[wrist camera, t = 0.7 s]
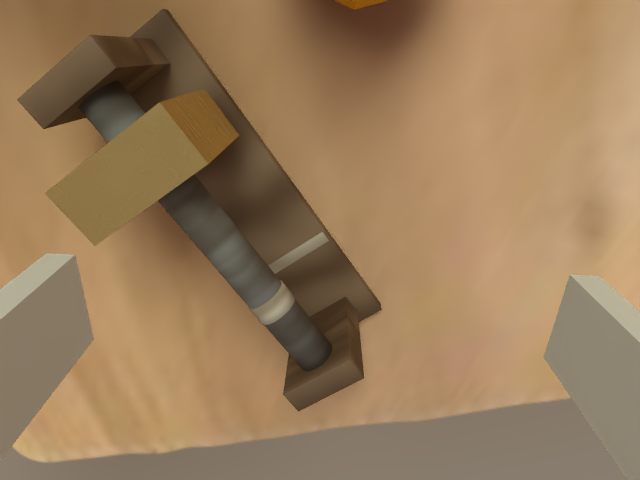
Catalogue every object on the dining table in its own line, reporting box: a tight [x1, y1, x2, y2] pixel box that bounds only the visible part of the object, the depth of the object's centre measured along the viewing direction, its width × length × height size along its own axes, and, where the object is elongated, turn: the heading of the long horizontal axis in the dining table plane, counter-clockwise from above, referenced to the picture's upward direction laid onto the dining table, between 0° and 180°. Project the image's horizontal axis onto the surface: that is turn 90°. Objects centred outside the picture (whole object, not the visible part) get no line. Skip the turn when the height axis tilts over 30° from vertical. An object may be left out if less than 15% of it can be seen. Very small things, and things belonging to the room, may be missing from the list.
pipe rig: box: [17, 9, 381, 411], centre depth 34 cm, size 30×10×10 cm, turn 34°
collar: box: [45, 89, 239, 246], centre depth 29 cm, size 4×9×9 cm, turn 124°
